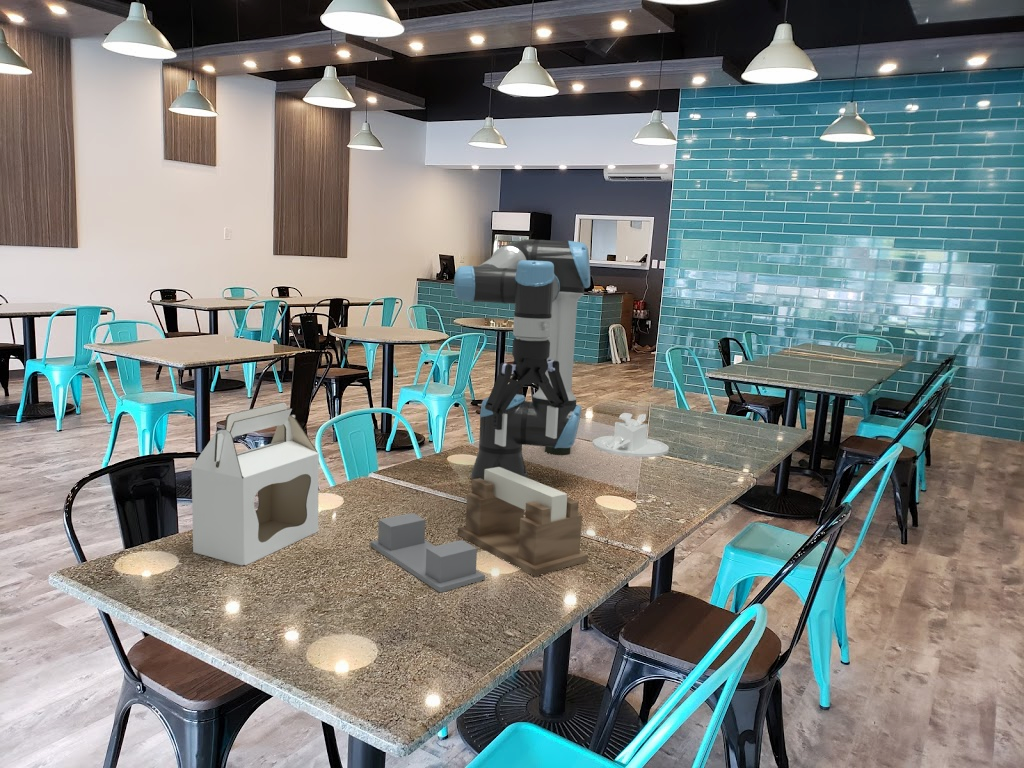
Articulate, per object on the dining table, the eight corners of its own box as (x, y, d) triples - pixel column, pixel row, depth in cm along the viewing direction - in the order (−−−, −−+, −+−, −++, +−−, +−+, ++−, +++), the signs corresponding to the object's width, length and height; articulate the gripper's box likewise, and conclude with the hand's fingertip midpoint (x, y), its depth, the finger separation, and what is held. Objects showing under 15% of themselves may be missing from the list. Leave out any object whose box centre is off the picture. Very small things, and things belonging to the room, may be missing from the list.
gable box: (243, 567, 143) (241, 422, 139) (191, 553, 149) (188, 412, 144) (319, 531, 163) (320, 403, 159) (271, 520, 169) (271, 395, 164)
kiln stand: (370, 546, 156) (370, 518, 155) (412, 536, 163) (412, 509, 162) (439, 592, 137) (441, 561, 136) (484, 580, 143) (486, 549, 142)
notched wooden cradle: (457, 534, 165) (459, 479, 163) (508, 523, 174) (510, 470, 172) (535, 577, 145) (538, 514, 143) (587, 561, 154) (591, 502, 152)
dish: (592, 436, 265) (595, 405, 263) (665, 442, 262) (668, 410, 260) (591, 454, 241) (594, 419, 239) (672, 460, 238) (675, 425, 236)
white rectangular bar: (483, 491, 165) (484, 469, 164) (498, 488, 168) (499, 466, 167) (550, 521, 148) (552, 497, 148) (565, 518, 151) (567, 493, 150)
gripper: (493, 342, 142) (488, 452, 146) (589, 338, 158) (582, 437, 161) (470, 338, 148) (466, 444, 152) (564, 334, 164) (559, 430, 167)
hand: (526, 441), depth 157 cm, fingers open, 13 cm apart
